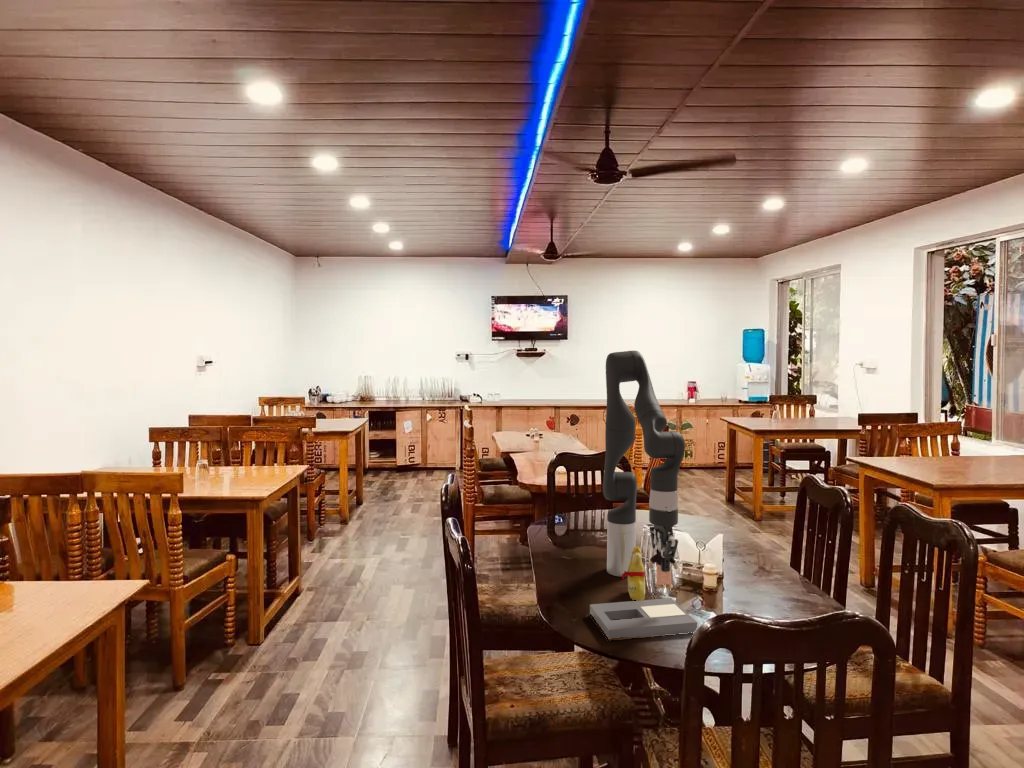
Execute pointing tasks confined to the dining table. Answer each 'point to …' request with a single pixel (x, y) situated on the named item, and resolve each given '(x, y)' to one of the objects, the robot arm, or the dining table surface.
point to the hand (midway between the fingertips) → (662, 568)
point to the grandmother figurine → (662, 576)
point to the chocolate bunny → (636, 576)
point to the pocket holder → (642, 618)
